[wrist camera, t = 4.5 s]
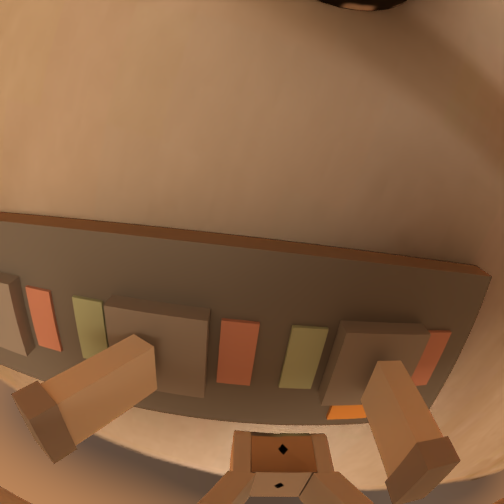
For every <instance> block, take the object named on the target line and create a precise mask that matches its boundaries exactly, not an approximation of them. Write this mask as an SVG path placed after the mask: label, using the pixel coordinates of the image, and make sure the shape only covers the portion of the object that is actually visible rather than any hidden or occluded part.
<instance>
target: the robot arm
mask: <svg viewBox="0 0 504 504" xmlns="http://www.w3.org/2000/svg"><path fill="white" fill-rule="evenodd" d="M249 496H260V497H264V496H265V497H268V496H269V497H273V496H274V497H276V496H277V497H299V499H300V500H301V501H302V502H303V504H374V503H373V502H372V501H371V500H370V499H369V498H367V497H366V496H365V495H364V494H363V493H362V492H361V491H359V490H358V489H357V488H356V487H355V486H354V485H353V484H352V483H350V482H349V481H348V480H347V479H346V478H345V477H344V476H343V475H342V474H341V473H340V472H334V468H333V463H332V459H331V454H330V450H329V445H328V441H327V436H326V435H325V434H324V433H320V434H309V433H280V434H273V433H259V432H248V431H236V430H235V431H234V436H233V443H232V450H231V458H230V471H227V473H226V474H225V475H224V476H223V477H222V478H221V479H220V480H219V481H218V482H217V483H216V484H215V485H214V487H213V488H212V489H211V490H210V491H209V492H208V493H207V494H206V495H205V496H204V497H203V498H202V499H201V500H200V501H199V502H198V503H197V504H244V503H245V502H246V501H247V499H248V498H249ZM0 504H31V503H30V502H27V501H26V500H24V499H22V498H20V497H18V496H16V495H15V494H13V493H11V492H9V491H7V490H6V489H4V488H2V487H0ZM492 504H504V498H502V499H500V500H498V501H496V502H494V503H492Z"/></svg>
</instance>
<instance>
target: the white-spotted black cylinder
mask: <svg viewBox="0 0 504 504" xmlns="http://www.w3.org/2000/svg"><path fill="white" fill-rule="evenodd" d="M319 1H321V2H324V3H328V4H331V5H335V6H338V7H343V8H349V9H354V10H370V11H375V10H383V9H389V8H392V7H395V6H398V5H401V4H402V3H404V2H405V1H406V0H319Z"/></svg>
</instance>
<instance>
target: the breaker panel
mask: <svg viewBox="0 0 504 504" xmlns="http://www.w3.org/2000/svg"><path fill="white" fill-rule="evenodd" d="M491 278H492V276H491V275H489V274H488V273H486V272H485V271H483V270H482V269H481V268H479V267H478V266H475V265H468V264H461V263H453V262H446V261H439V260H432V259H424V258H417V257H409V256H402V255H394V254H386V253H379V252H371V251H363V250H355V249H347V248H339V247H331V246H323V245H315V244H306V243H298V242H290V241H281V240H273V239H264V238H255V237H247V236H238V235H229V234H220V233H211V232H202V231H192V230H183V229H174V228H164V227H155V226H145V225H135V224H125V223H115V222H105V221H94V220H84V219H73V218H62V217H51V216H40V215H28V214H17V213H5V212H0V364H1V365H3V366H6V367H8V368H11V369H13V370H16V371H18V372H21V373H23V374H26V375H28V376H31V377H34V378H36V379H39V380H42V381H47V380H49V379H50V378H52V377H54V376H56V375H58V374H60V373H62V372H64V371H66V370H67V369H69V368H71V367H73V366H75V365H77V364H79V363H81V362H83V361H84V360H86V359H88V358H90V357H92V356H94V355H96V354H97V353H99V352H101V351H103V350H105V349H107V348H109V347H110V346H112V345H114V344H116V343H118V342H120V341H122V340H123V339H125V338H127V337H129V336H131V335H133V334H135V335H136V336H138V337H139V338H141V339H143V340H144V341H146V342H147V343H149V344H151V345H152V346H154V354H155V368H156V380H157V390H155V391H154V392H153V393H151V394H150V395H148V396H147V397H146V398H144V399H143V400H141V401H140V402H139V403H137V404H136V405H134V406H133V407H138V408H143V409H148V410H153V411H158V412H164V413H169V414H175V415H182V416H188V417H195V418H203V419H211V420H220V421H230V422H241V423H254V424H273V425H343V424H361V423H369V422H368V419H367V416H366V413H365V411H364V408H363V405H362V403H361V398H362V395H363V393H364V391H365V389H366V387H367V384H368V382H369V380H370V378H371V375H372V373H373V371H374V368H375V366H376V364H377V361H399V360H401V362H402V363H403V365H404V367H405V368H406V370H407V372H408V373H409V375H410V377H411V379H412V380H413V382H414V384H415V386H416V387H417V389H418V391H419V393H420V394H421V396H422V398H423V400H424V402H425V403H426V405H427V407H428V409H430V407H431V406H432V404H433V402H434V401H435V399H436V397H437V396H438V394H439V392H440V390H441V389H442V387H443V385H444V383H445V382H446V380H447V378H448V376H449V374H450V372H451V370H452V369H453V367H454V365H455V363H456V361H457V359H458V357H459V355H460V353H461V351H462V349H463V347H464V344H465V342H466V340H467V338H468V336H469V334H470V331H471V329H472V327H473V325H474V322H475V320H476V317H477V315H478V313H479V310H480V308H481V305H482V303H483V300H484V297H485V295H486V292H487V289H488V286H489V284H490V281H491Z"/></svg>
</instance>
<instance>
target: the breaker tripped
mask: <svg viewBox="0 0 504 504" xmlns="http://www.w3.org/2000/svg"><path fill="white" fill-rule="evenodd" d="M361 403H362V405H363V408H364V411H365V413H366V416H367V419H368V422H369V425H370V427H371V430H372V433H373V436H374V439H375V442H376V444H377V447H378V450H379V453H380V456H381V459H382V462H383V465H384V468H385V471H386V474H387V477H388V479H387V480H386V481H385V483H386V486H387V489H388V492H389V496H390V499H391V502H392V504H403V503H407V502H411V501H415V500H418V499H422V498H424V497H425V496H426V495H428V494H429V493H430V492H431V491H432V490H433V489H434V488H435V487H436V486H437V485H438V484H439V483H440V482H441V481H442V480H443V479H444V478H445V477H446V476H447V475H448V474H449V473H450V472H451V470H452V469H453V468H454V467H455V466H456V465H457V464H458V463H459V462H460V459H459V457H458V455H457V453H456V451H455V449H454V447H453V445H452V443H451V441H450V439H449V437H448V436H446V437H443V435H442V433H441V431H440V429H439V427H438V425H437V423H436V422H435V420H434V418H433V416H432V414H431V412H430V411H429V409H428V407H427V405H426V403H425V402H424V400H423V398H422V396H421V394H420V393H419V391H418V389H417V387H416V386H415V384H414V382H413V380H412V379H411V377H410V375H409V373H408V372H407V370H406V368H405V367H404V365H403V363H402V362H401V360H399V361H377V364H376V366H375V368H374V371H373V373H372V375H371V378H370V380H369V382H368V384H367V387H366V389H365V391H364V393H363V395H362V398H361Z"/></svg>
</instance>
